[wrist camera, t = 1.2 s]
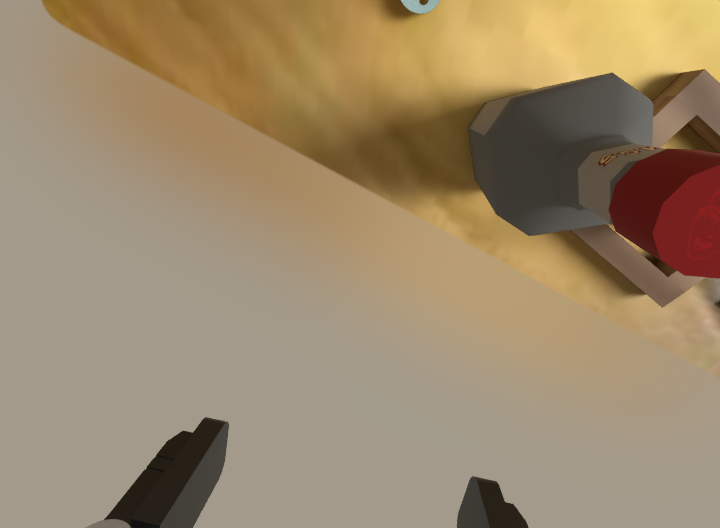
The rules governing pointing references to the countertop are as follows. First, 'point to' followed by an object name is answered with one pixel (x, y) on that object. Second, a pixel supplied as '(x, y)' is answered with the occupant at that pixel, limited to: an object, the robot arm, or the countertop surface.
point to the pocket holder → (670, 113)
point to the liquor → (598, 171)
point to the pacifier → (419, 6)
